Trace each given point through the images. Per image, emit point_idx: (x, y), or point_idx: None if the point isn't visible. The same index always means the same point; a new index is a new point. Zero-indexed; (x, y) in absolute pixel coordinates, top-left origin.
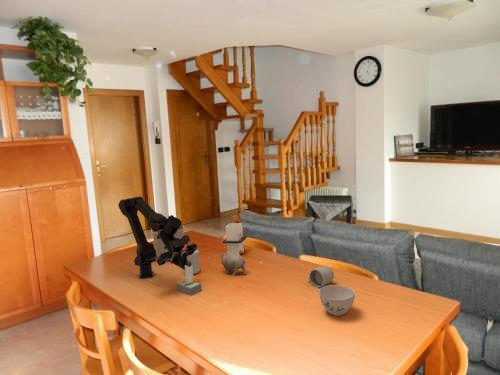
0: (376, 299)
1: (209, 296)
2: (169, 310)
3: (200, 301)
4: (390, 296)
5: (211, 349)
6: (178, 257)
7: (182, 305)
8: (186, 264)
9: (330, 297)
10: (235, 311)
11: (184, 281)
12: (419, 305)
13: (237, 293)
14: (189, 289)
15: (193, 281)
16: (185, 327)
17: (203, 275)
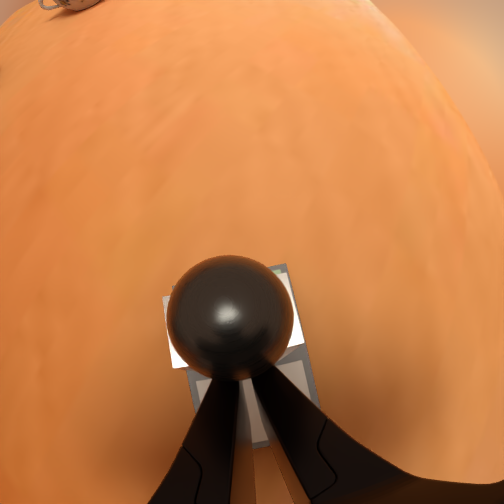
0: (24, 24)
1: (200, 191)
2: (433, 196)
3: (273, 171)
4: (11, 29)
5: (360, 7)
6: (438, 495)
7: (371, 196)
8: (289, 294)
9: (64, 3)
10: (216, 48)
11: (252, 430)
12: (31, 8)
13: (94, 141)
14: (287, 274)
15: (188, 380)
16: (397, 72)
17: (59, 490)
